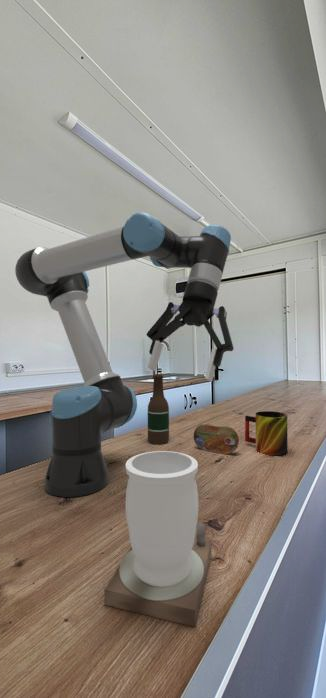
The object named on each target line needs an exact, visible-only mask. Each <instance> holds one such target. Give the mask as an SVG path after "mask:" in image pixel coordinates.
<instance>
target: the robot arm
mask: <svg viewBox="0 0 326 698" xmlns="http://www.w3.org/2000/svg"><path fill="white" fill-rule="evenodd" d="M231 240H232V236H231V233H230V231H229V230H228V229H227V228H225V227H224V226H222V225H219V224H209V225H207V226H204V228H202V230H201V232H200V234H199V235H194V236H193V235H191V236H180V235H178V234H176V233H175V232H174V231H172V230H171V229H170V228H168V227H167V226H166V225H165V224H164V223H162V221H160V220H159V219H158V218H157V217H155V216H153V215H151V214H149V213H147V212H142V211H139V212H135V213H134V214H132V215H131V216H130V217H129V218H127V219H126V221H125V223H124V225H123V226H120V227H116V228H113V229H111V230H106V231H104V232H100V233H95V234H93V235H91V236H87V237H84V238H79V239H77V240H74V241H71V242H67V243H64V244H60V245H57V246H54V247H50V248H49V247H46V246H39V247H36V248H35V247H34V248H32V249H30V250H27V251H26V252H24V253H23V254H21V255H20V257H18V259H17V261H16V265H15V269H14V270H15V272H14V273H15V276H16V279H17V281H18V283H19V285H20V286H21V287H22V288H23V289H24V290H25V291H26V292H28V293H31V294H33V295H36V296H43V297H45V298H47V300H48V303H49V306H50V308H51V309H52V311H53V310H54V311H56V312H58V315H59V318H60V320H61V324H62V326H63V328H64V330H65V331H64V332H65V334H66V336H67V340H68V342H69V344H70V345H69V346H70V347H71V349H72V353H73V356H74V359H75V360H76V363H77V366H78V369H79V371H80V374H81V376H82V380H83V382H84V384H83V385H81V386H77V387H76V386H75V387H74V386H73V387H68V388H65V389H61V390H60V391H57V392H56V393H55V394H54V396H53V397H52V402H51V403H52V407H51V410H50V411H51V412H50V413H51V436H52V439H51V441H52V442H51V443H52V446H51V447H52V455H51V458H50V461H49V464H48V468H47V471H46V475H45V478H44V489H45V491H46V492H47V493H49V494H50V495H53V496H55V497H56V496H57V497H62V498H74V497H81V496H82V497H83V496H87V495H92V494H94V493H96V492H98V491H100V490H102V489H103V488H105V487H106V486H107V485H108V483H109V470H108V467H107V463H106V460H105V458H104V455H103V452H102V434H103V433H106V432H108V431H111V430H114V429H117V428H118V429H119V428H120V427H123V426H124V425H126V424H128V423H129V422H130V421H132V419H133V418H134V417H135V415H136V412H137V409H138V400H137V395H136V394H135V392H134V390H133V389H132V388H131V387H129V386H127V385H125V384H124V383H123V380H122V378H121V376H120V374H117V373H115V372H113V370H112V367H111V365H110V362H109V359H108V357H107V355H106V352H105V350H104V346H103V344H102V342H101V341H102V340H100V337H99V334H98V331H97V329H96V326H95V324H94V321H93V318H92V316H91V314H90V311H89V309H88V306H87V304H86V303H87V301H88V298H89V295H88V294H89V287H90V281H89V277H88V274H87V273H86V272H88V271H92V270H96V269H100V268H101V269H102V268H104V267H108V266H113V265H115V264H116V265H117V264H120V263H121V264H122V263H124V262H128V261H132V260H136V259H141V258H146V257H149V259H150V261H151V262H152V264H153V265H154V266H155V267H157V268H158V267H159V268H165V269H170V268H173V269H174V268H177V269H178V268H180V269H181V268H182V269H183V268H184V269H185V268H189V269H190V272H189V276H188V278H187V282H186V283H187V284H186V285H185V289H184V293H183V297H182V302H181V303H180V304H174V302H171V301H170V302H168V304H167V307H166V308H165V310H164V311H163V313H162V314H161V316H159V318H158V319H157V320H156V321H155V323H153V325H152V326H151V327H150V328H149V330H148V331H147V332H146V336H147V337H148V338H149V339H150V340H151V341H152V342H151V344H150V348H149V351H148V352H149V354H150V358H149V362H148V366H147V369H149V370H151V371H153V372H156V371H157V368H158V364H159V361H160V358H161V354H162V350H163V348H164V344H163V341H165V340H166V339H167V338H169V337H170V336H172V334H173V333H174V332H176V331H178V330H179V329H180V328H181V327H184V326H185V325H187V326H195V327H198V328H199V327H201V326H204V328H205V330H206V331H207V334H208V335H209V336H210V338H211V340H212V343H214V346H215V347H216V348H213V347H212V349H211V353H210V356H209V357H210V358H209V359H208V360H209V362H208V364H207V368H206V371H205V377H204V378H205V379H206V381H208V382H211V383H212V382H213V380H214V375H215V371H216V367H218V368H219V367H221V365H222V360H223V358H224V357H223V356H224V353H225V352H232V351H234V350H235V349H234V345H233V341H232V337H231V334H230V330H229V327H228V326H229V325H228V323H227V315H228V313H227V311H226V308H225V306H222V305H221V306H220V307H218V308H217V307H216V308H215V305H216V301H217V298H218V293H219V292H218V291H219V289H220V286H221V282H222V278H223V273H224V270H225V266H226V263H227V259H228V255H229V253H230V246H231ZM178 312H179V313H178ZM177 313H178V314H177ZM213 316H215V317H216V318H217V319H218V322H219V325H220V329H221V333H222V336H223V341H224V343H222V342H221V340H220V339H219V337H218V336H217V333H216V332H215V329H214V328H213V326H212V324H211V323H210V322H209V320H210V319H211V318H213ZM173 317H174V318H173Z"/></svg>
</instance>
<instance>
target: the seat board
mask: <svg viewBox="0 0 326 698" xmlns="http://www.w3.org/2000/svg"><path fill="white" fill-rule="evenodd" d="M195 532H196V538H195V539H194V544H193V547H192V550H191V553H190V555H189V556H190V559H191V564H192V566H191V571H190V573H189V574H188V576H187V577H186V578H185V579H184V580H183V581H181V582H179V583H177V584H175V585H171V586H165V587H158V586H152V585H149V584H147V583H145V582H143V581H141V580H140V579H139V578H138V577H137V576H136V574H135V572H134V569H133V563H134V559H135V555H134V552H133V550H132V547H131V546H130V548H129V549H128V551H127V552H126V554H125V555H124V557H123V558H122V559H121V562H120V563H119V566H118V567H117V569H116V570H115V571H114V574H113V575H112V577H111V578H110V580H109V581H108V584H107V585H106V586H105V588H104V589H103V590H104V596H103V597H104V605H105V606H108V607H111V606H113V608H116V609H120V610H123V611H124V610H125V611H130V612H132V613H137V614H141V615H144V616H150V617H153V618H157V619H161V620H165V621H170V622H172V623H173V622H175V623H178V624H182V625H185V626H190V627H194V628H195V627H196V626H197V621H198V617H199V613H200V607H201V603H202V598H203V593H204V589H205V586H206V580H207V575H208V571H209V568H210V566H209V565H210V560H211V558H212V541H210V540H206V524H205V523H203V522H197V526H196V531H195Z"/></svg>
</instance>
